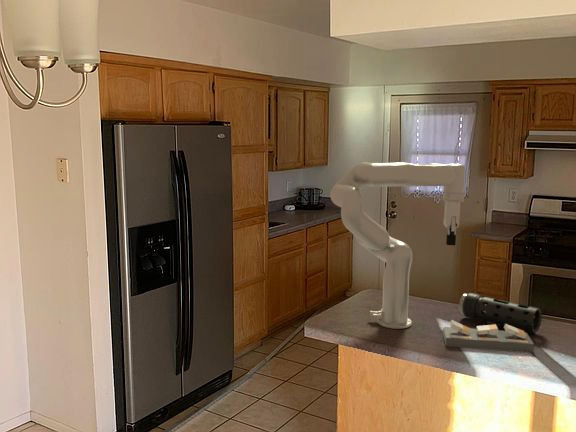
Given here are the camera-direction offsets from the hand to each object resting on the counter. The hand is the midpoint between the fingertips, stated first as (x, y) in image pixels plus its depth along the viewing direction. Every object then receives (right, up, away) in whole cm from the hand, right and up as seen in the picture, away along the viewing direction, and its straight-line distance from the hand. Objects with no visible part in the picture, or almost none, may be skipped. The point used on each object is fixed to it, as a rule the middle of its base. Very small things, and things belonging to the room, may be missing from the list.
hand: (450, 244), depth 217 cm
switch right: (+15, -28, -23) cm, 39 cm away
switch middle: (+6, -28, -21) cm, 36 cm away
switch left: (-2, -28, -20) cm, 34 cm away
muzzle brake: (+17, -31, -3) cm, 35 cm away
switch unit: (+6, -33, -21) cm, 39 cm away
